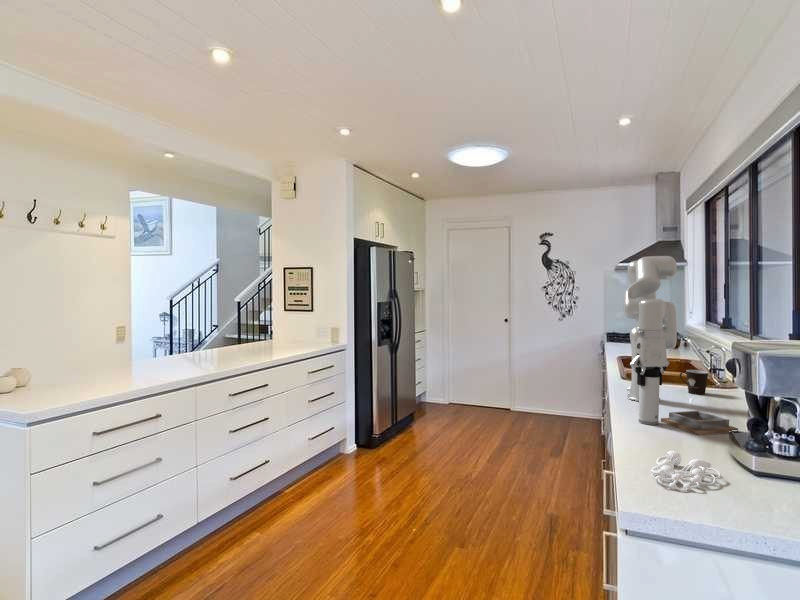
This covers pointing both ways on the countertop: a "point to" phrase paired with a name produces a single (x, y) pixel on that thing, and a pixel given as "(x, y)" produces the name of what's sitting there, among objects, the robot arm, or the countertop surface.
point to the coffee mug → (696, 381)
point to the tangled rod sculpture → (682, 472)
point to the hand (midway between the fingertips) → (649, 384)
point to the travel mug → (649, 397)
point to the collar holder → (698, 422)
